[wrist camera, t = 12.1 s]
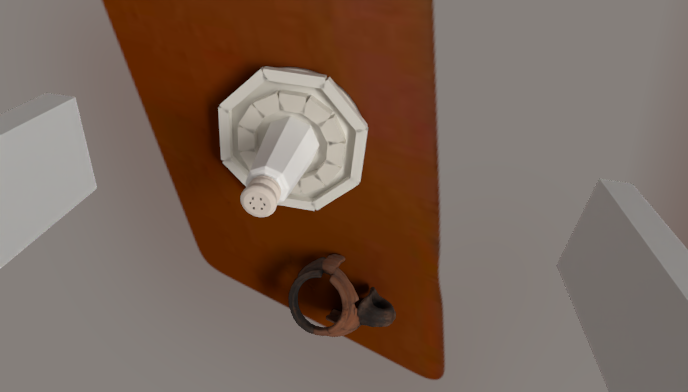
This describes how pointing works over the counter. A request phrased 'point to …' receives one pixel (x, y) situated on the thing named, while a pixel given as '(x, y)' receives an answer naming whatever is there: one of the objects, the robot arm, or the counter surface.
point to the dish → (307, 106)
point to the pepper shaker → (278, 165)
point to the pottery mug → (369, 310)
